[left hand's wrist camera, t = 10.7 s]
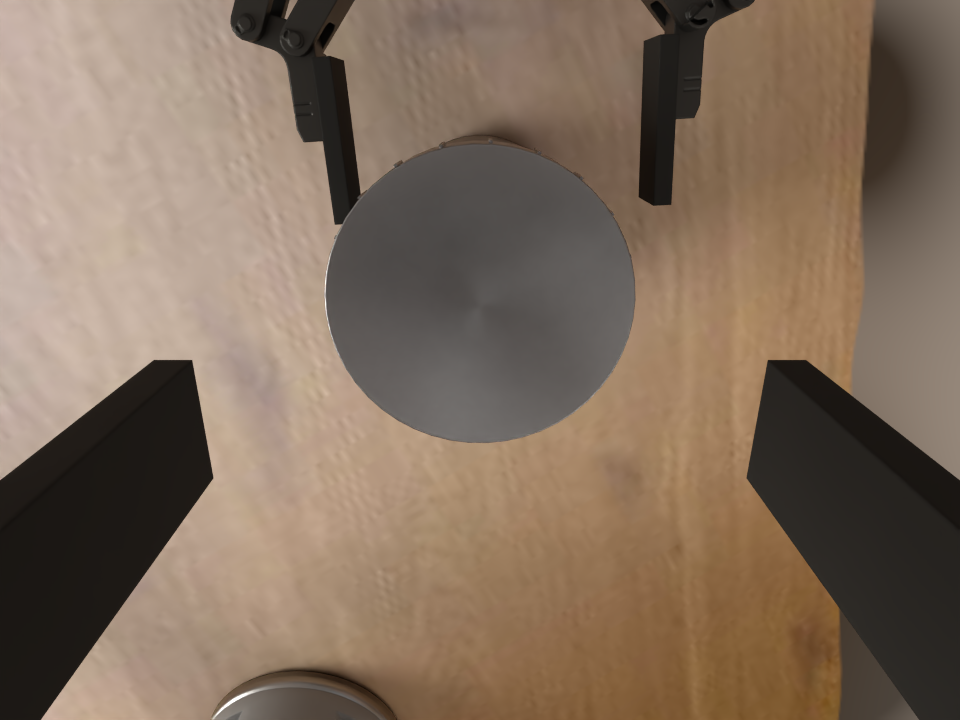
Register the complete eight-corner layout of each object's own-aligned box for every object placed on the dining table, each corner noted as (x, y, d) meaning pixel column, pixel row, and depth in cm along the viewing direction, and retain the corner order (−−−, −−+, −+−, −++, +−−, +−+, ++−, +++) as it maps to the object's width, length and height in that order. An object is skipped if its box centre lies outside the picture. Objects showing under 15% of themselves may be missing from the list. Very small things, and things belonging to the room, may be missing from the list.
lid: (580, 442, 24) (588, 469, 23) (318, 391, 24) (304, 415, 22) (663, 177, 21) (680, 184, 19) (356, 106, 20) (344, 106, 18)
